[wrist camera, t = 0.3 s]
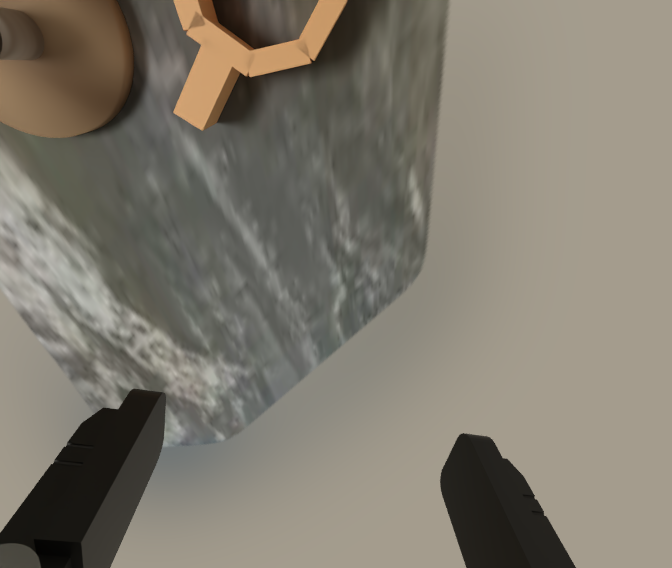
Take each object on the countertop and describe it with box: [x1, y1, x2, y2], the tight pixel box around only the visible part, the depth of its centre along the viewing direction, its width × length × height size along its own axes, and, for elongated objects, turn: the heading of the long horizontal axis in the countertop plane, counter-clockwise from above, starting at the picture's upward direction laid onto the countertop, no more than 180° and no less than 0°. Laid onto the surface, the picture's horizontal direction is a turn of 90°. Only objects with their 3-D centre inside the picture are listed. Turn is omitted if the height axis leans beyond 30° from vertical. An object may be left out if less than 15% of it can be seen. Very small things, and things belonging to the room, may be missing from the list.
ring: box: [173, 0, 348, 131], centre depth 21 cm, size 13×9×4 cm
